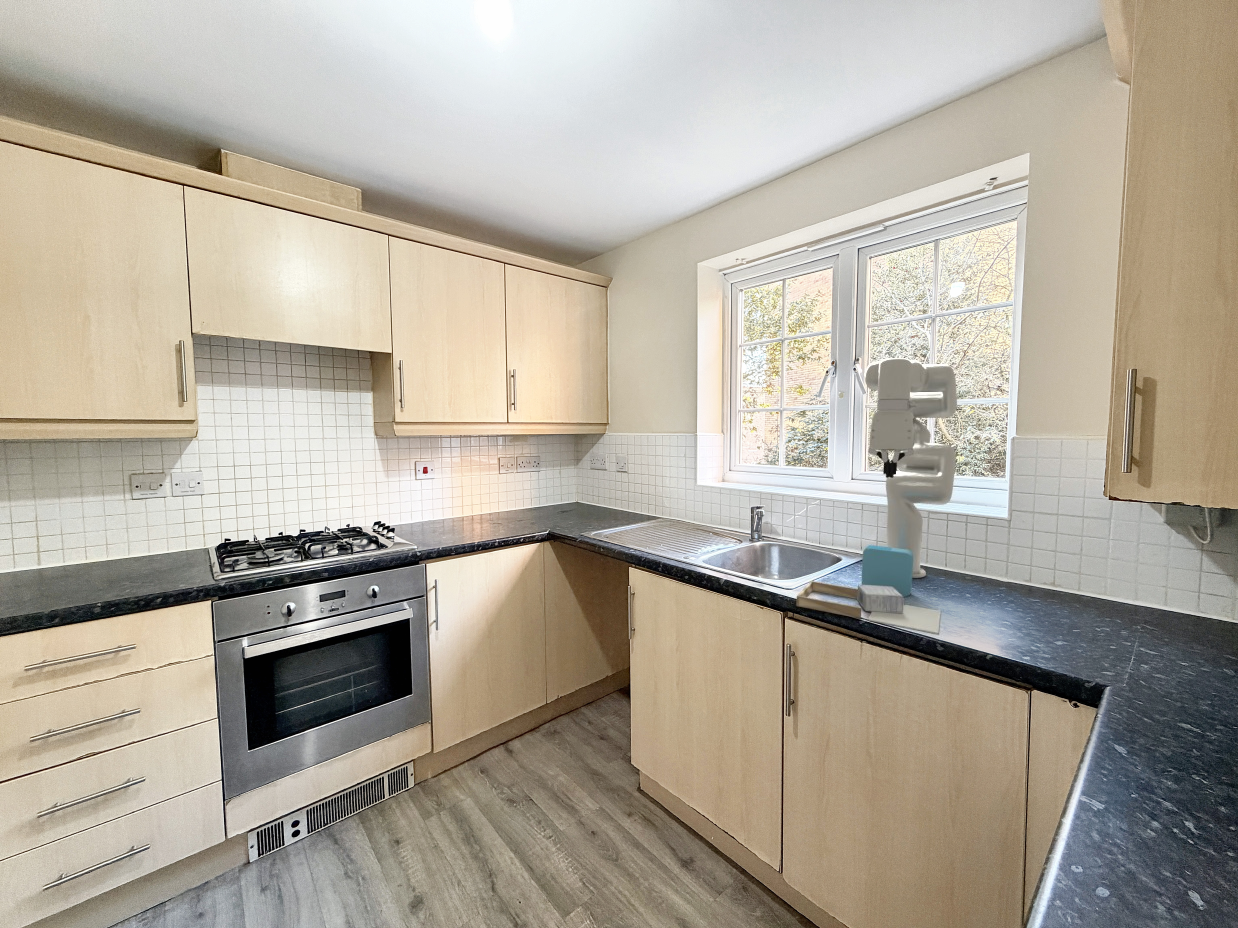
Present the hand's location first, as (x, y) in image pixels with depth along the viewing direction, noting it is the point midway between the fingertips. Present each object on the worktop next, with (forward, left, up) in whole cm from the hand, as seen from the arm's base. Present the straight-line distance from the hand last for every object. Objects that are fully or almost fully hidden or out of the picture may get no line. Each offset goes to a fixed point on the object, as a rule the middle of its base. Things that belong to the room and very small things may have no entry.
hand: (889, 477), depth 136 cm
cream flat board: (+13, +6, -32) cm, 35 cm away
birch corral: (+13, -10, -32) cm, 36 cm away
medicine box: (+12, -4, -30) cm, 32 cm away
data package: (-5, 0, -32) cm, 33 cm away
